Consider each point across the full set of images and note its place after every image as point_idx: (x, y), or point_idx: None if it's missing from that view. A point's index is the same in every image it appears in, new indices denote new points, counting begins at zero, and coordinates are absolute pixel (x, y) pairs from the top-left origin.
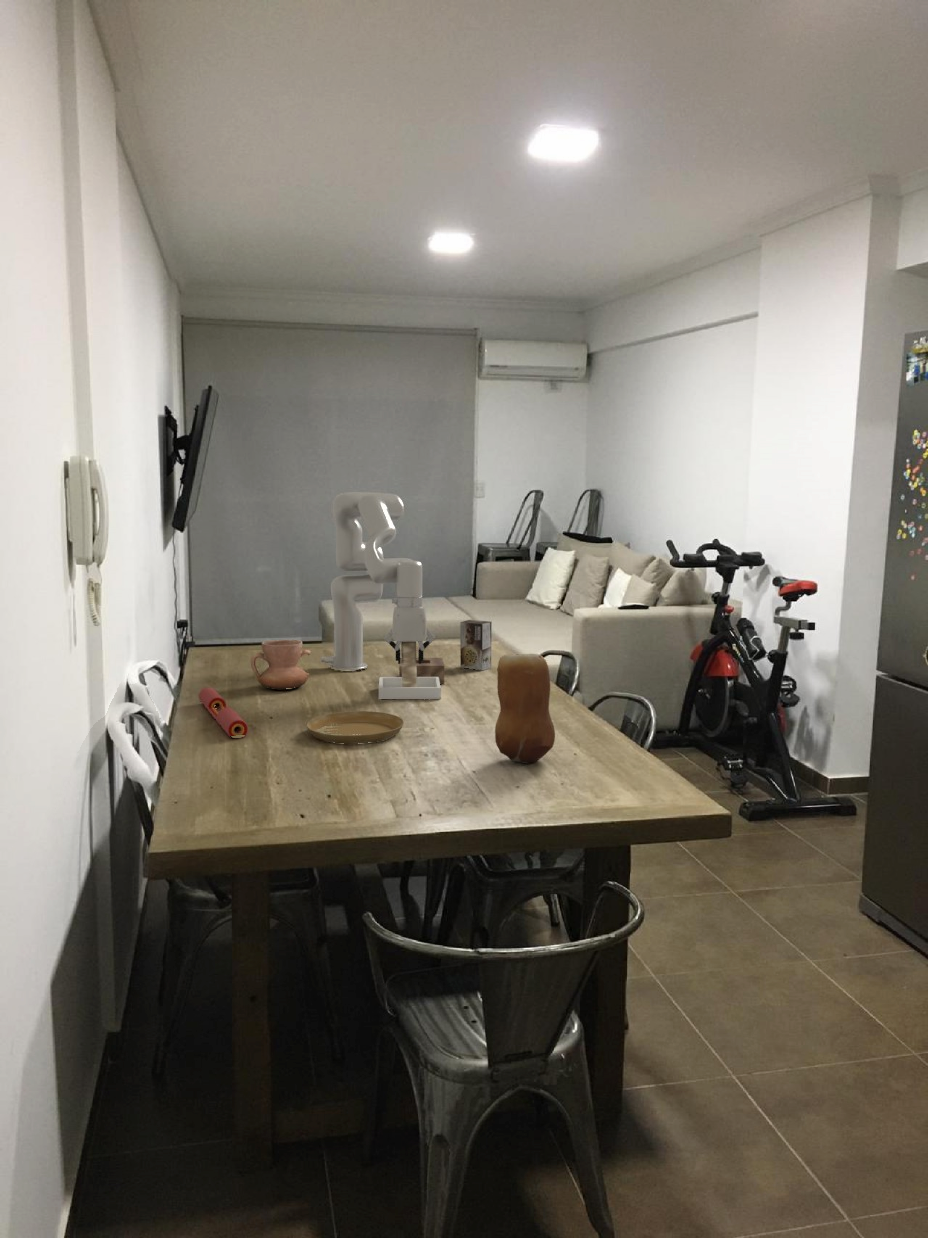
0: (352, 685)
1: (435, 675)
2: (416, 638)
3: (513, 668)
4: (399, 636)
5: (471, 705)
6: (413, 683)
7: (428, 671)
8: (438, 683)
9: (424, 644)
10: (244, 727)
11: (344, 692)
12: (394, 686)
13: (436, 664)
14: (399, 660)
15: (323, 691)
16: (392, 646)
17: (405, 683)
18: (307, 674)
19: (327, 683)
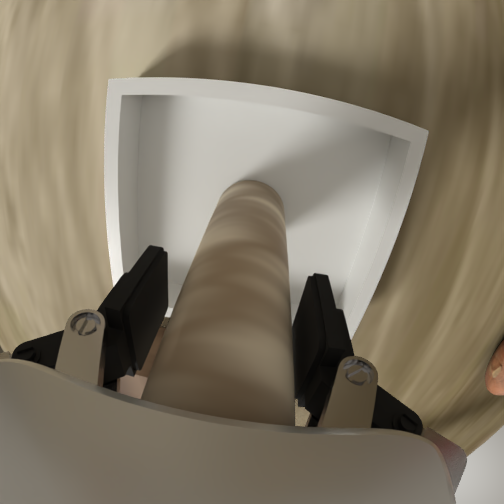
0: (398, 356)
1: None
2: (71, 418)
3: None
4: (380, 495)
5: (61, 5)
6: (229, 199)
7: (153, 361)
8: (110, 179)
9: (54, 358)
10: None
11: (459, 279)
12: (293, 305)
13: (123, 383)
14: (320, 287)
15: (490, 299)
16: (391, 400)
17: (272, 204)
18: (500, 366)
19: (436, 374)
